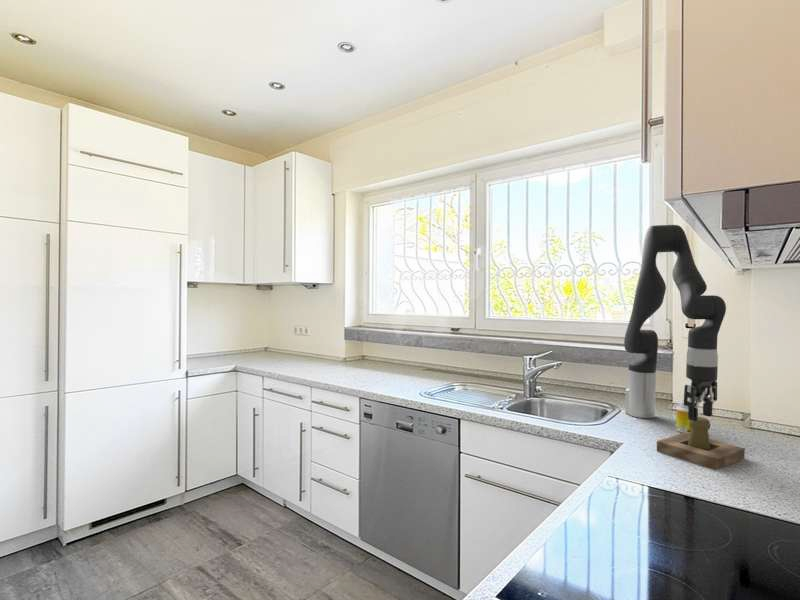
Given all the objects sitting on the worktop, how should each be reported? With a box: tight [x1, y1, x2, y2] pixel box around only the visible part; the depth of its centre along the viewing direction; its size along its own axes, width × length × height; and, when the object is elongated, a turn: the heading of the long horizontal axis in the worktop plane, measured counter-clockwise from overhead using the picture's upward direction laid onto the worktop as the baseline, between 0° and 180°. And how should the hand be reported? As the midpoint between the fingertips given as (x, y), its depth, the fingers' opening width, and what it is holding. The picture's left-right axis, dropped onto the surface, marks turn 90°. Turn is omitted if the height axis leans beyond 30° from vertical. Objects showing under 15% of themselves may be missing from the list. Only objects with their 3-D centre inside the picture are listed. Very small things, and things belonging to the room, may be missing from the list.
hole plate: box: [656, 432, 746, 471], centre depth 127 cm, size 16×16×3 cm
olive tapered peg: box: [688, 416, 711, 451], centre depth 126 cm, size 6×6×11 cm
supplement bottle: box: [675, 400, 691, 434], centre depth 147 cm, size 6×6×10 cm
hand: (700, 418), depth 127 cm, fingers open, 8 cm apart
